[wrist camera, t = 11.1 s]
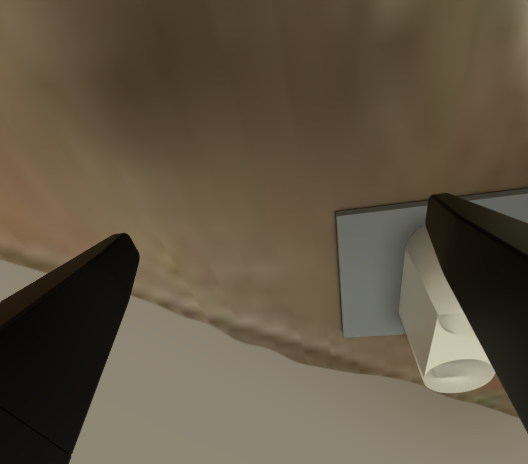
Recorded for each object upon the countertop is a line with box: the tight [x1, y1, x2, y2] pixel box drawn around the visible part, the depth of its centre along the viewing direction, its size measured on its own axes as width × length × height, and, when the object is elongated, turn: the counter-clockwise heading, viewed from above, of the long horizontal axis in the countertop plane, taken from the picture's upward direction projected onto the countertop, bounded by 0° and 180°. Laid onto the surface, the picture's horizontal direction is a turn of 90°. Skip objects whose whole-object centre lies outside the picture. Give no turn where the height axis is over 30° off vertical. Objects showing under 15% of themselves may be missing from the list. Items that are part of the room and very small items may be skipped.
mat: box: [336, 188, 528, 338], centre depth 24 cm, size 14×14×1 cm
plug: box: [399, 225, 495, 393], centre depth 22 cm, size 4×14×6 cm, turn 11°
